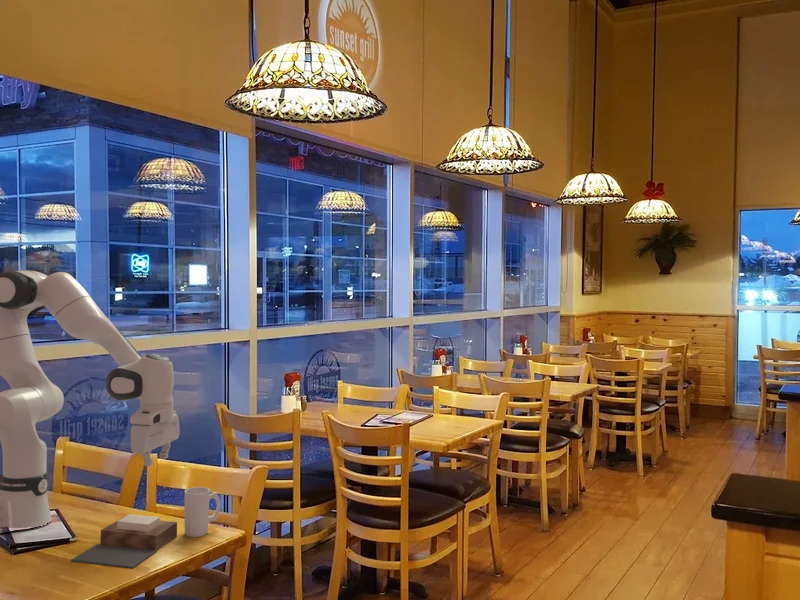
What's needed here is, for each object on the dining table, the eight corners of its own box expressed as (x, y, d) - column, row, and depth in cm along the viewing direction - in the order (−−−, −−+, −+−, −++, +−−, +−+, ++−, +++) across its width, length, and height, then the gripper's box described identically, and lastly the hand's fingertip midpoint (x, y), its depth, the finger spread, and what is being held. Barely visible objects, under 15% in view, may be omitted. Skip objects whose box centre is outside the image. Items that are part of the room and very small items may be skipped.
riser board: (100, 544, 195) (100, 529, 195) (124, 530, 206) (124, 516, 205) (155, 551, 192) (156, 535, 191) (176, 536, 202) (177, 522, 202)
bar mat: (71, 561, 184) (71, 559, 184) (97, 545, 194) (97, 543, 194) (133, 568, 180) (133, 566, 180) (156, 552, 191) (156, 550, 191)
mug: (186, 538, 201) (187, 495, 200) (181, 531, 207) (181, 488, 206) (223, 533, 206) (224, 490, 205) (216, 525, 212) (217, 484, 211)
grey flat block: (117, 528, 196) (117, 521, 196) (129, 521, 202) (129, 514, 202) (148, 532, 194) (148, 524, 194) (159, 524, 200) (159, 517, 200)
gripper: (165, 405, 216) (164, 452, 217) (126, 418, 196) (125, 470, 196) (185, 406, 215) (184, 454, 215) (148, 420, 195) (147, 472, 195)
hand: (156, 462), depth 206 cm, fingers open, 7 cm apart
